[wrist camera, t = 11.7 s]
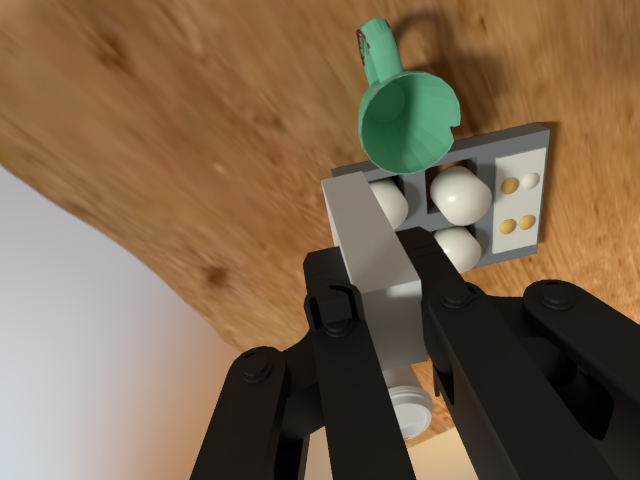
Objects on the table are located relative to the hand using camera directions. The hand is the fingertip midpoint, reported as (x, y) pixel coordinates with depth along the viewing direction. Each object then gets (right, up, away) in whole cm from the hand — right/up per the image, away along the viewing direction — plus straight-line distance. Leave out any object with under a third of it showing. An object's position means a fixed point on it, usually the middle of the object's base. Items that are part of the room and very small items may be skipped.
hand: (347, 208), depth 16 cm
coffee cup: (+8, -17, +53) cm, 56 cm away
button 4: (+15, +5, +36) cm, 39 cm away
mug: (+5, +17, +31) cm, 36 cm away
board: (+15, +3, +41) cm, 44 cm away
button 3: (+17, -1, +42) cm, 46 cm away
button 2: (+6, +4, +38) cm, 38 cm away
